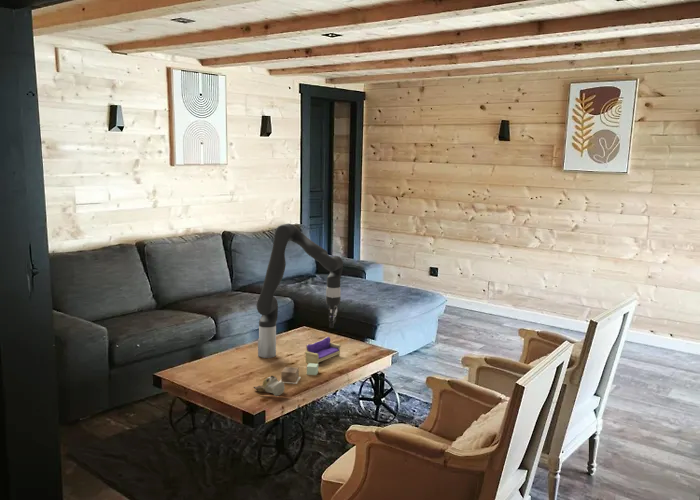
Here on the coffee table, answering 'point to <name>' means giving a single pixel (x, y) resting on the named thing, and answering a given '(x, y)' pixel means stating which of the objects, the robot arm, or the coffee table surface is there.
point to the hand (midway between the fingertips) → (332, 325)
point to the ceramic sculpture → (271, 386)
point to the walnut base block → (290, 374)
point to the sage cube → (312, 369)
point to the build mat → (291, 382)
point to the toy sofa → (321, 351)
